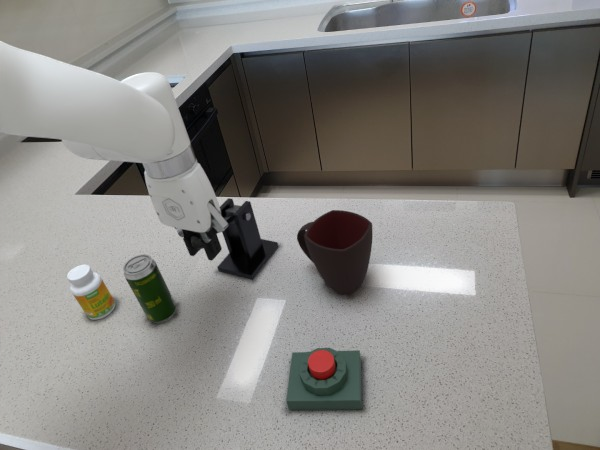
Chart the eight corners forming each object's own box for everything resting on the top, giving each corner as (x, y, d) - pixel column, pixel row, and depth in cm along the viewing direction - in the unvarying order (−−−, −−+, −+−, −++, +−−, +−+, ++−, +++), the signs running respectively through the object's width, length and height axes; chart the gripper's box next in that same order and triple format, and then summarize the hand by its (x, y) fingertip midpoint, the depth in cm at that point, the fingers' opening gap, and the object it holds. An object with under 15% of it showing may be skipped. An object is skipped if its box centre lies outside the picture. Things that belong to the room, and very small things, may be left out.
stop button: (336, 357, 65) (334, 349, 64) (335, 379, 62) (333, 371, 61) (310, 357, 65) (308, 350, 64) (308, 380, 62) (306, 372, 61)
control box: (361, 359, 68) (358, 342, 66) (361, 409, 62) (359, 392, 59) (294, 361, 70) (289, 344, 67) (289, 410, 63) (283, 393, 61)
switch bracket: (252, 280, 86) (235, 226, 78) (218, 271, 89) (199, 219, 82) (278, 246, 92) (265, 194, 85) (245, 239, 96) (230, 188, 88)
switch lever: (203, 254, 76) (199, 236, 74) (188, 250, 77) (184, 233, 76) (247, 220, 85) (245, 204, 84) (233, 217, 87) (231, 202, 85)
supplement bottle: (99, 324, 83) (75, 286, 78) (81, 315, 86) (56, 278, 80) (122, 303, 87) (100, 265, 81) (103, 295, 90) (81, 258, 84)
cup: (353, 311, 76) (345, 256, 68) (290, 282, 84) (277, 230, 77) (385, 274, 81) (380, 220, 74) (322, 250, 89) (313, 199, 82)
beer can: (169, 297, 86) (145, 249, 79) (182, 312, 82) (159, 262, 75) (143, 314, 84) (116, 265, 76) (155, 329, 80) (128, 280, 73)
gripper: (112, 167, 69) (156, 258, 80) (197, 180, 61) (233, 277, 73) (146, 143, 74) (183, 231, 85) (228, 152, 66) (257, 247, 77)
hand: (206, 252), depth 79 cm, fingers closed on switch lever, 3 cm apart
